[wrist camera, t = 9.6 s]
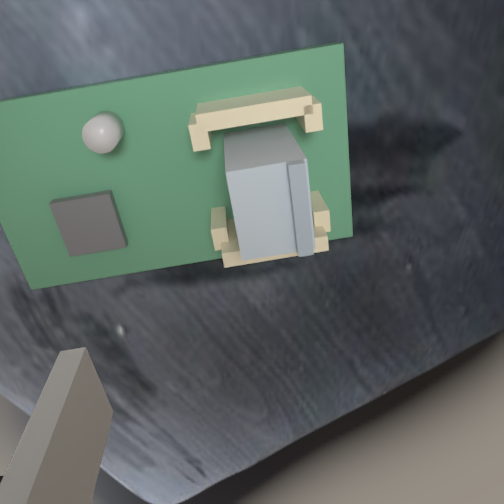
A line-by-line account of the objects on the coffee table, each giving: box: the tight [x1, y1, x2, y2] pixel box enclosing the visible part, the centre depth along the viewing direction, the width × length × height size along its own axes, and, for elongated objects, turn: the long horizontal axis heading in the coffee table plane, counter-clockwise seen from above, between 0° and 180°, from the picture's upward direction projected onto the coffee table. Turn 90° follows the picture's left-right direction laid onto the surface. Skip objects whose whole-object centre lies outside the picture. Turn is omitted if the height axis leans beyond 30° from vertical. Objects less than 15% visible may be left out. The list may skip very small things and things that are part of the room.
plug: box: [223, 123, 316, 261], centre depth 26 cm, size 5×4×9 cm
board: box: [0, 42, 353, 290], centre depth 29 cm, size 13×24×6 cm, turn 99°
